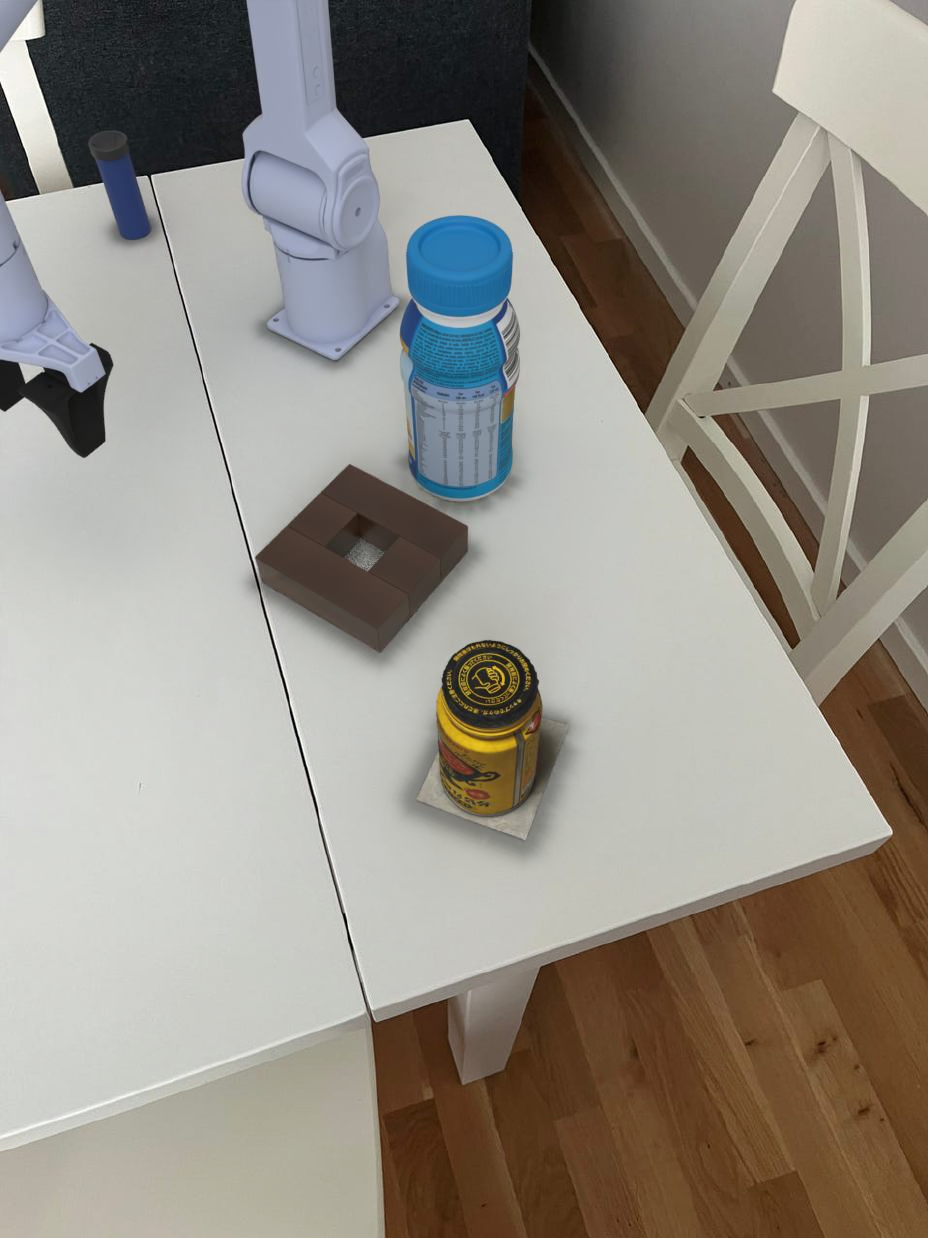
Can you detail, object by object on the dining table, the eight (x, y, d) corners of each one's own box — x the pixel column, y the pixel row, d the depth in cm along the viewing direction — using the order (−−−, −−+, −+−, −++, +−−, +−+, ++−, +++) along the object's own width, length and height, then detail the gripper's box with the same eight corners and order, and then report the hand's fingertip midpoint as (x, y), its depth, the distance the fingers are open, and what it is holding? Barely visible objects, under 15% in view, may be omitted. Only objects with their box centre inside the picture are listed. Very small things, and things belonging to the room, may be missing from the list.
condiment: (415, 801, 62) (406, 707, 52) (465, 692, 66) (465, 587, 56) (525, 842, 60) (536, 753, 50) (568, 727, 65) (587, 625, 55)
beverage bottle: (443, 523, 75) (437, 304, 58) (387, 454, 79) (367, 231, 62) (534, 478, 77) (553, 256, 61) (476, 414, 81) (479, 189, 65)
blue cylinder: (135, 215, 97) (107, 125, 89) (160, 227, 96) (134, 137, 88) (110, 232, 95) (80, 143, 88) (135, 244, 94) (107, 155, 87)
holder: (353, 489, 77) (349, 463, 74) (468, 551, 73) (468, 525, 71) (261, 582, 72) (254, 556, 69) (380, 653, 68) (377, 629, 66)
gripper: (-175, 239, 56) (-67, 415, 67) (-1, 334, 51) (83, 507, 62) (-73, 179, 59) (13, 357, 70) (99, 264, 54) (162, 440, 66)
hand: (51, 424), depth 66 cm, fingers open, 7 cm apart
